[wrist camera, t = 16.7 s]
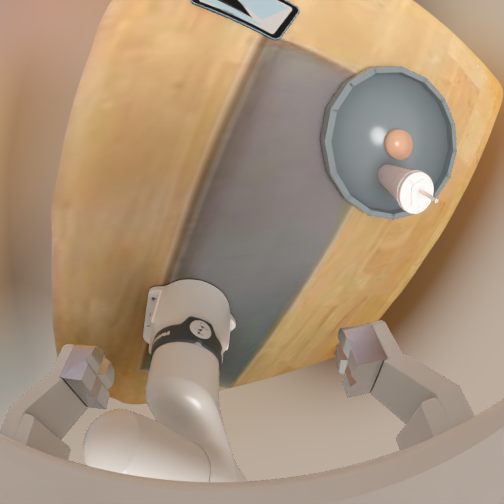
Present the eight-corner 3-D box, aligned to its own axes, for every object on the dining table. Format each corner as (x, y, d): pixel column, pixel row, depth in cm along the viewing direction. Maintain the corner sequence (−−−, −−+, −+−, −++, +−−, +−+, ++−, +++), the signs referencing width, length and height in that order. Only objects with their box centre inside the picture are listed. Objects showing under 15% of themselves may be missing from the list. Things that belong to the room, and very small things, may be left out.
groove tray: (398, 236, 50) (404, 242, 48) (290, 162, 42) (293, 166, 40) (465, 133, 39) (474, 136, 37) (372, 37, 32) (379, 35, 30)
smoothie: (407, 164, 42) (458, 191, 30) (394, 197, 45) (439, 232, 33) (378, 150, 41) (428, 173, 29) (365, 186, 44) (408, 219, 32)
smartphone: (277, 42, 32) (187, 1, 28) (276, 43, 33) (188, 3, 29) (302, 8, 30) (214, -32, 25) (300, 10, 30) (214, -30, 26)
